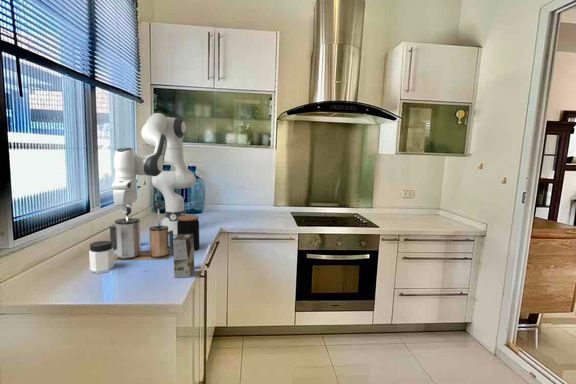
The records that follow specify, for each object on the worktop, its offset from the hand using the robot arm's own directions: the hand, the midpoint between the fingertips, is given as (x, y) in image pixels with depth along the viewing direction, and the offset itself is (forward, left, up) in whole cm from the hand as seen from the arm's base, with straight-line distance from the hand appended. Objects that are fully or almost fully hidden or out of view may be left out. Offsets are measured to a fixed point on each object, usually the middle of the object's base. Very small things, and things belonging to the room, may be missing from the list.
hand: (127, 212), depth 153 cm
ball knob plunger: (0, +14, -12) cm, 19 cm away
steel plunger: (0, 0, -19) cm, 19 cm away
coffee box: (+22, +29, -22) cm, 43 cm away
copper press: (0, +15, -21) cm, 26 cm away
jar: (+15, -6, -22) cm, 28 cm away
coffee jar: (-10, +26, -22) cm, 36 cm away
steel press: (0, -1, -21) cm, 21 cm away
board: (-1, +6, -22) cm, 23 cm away
